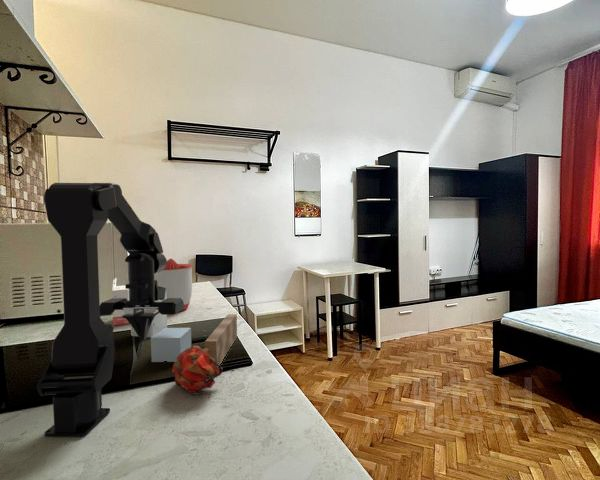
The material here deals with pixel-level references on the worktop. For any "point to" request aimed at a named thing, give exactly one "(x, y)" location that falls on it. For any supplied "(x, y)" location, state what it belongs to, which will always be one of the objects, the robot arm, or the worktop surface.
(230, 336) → the walnut board
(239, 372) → the worktop surface
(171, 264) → the citrus juicer
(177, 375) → the dragon fruit
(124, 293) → the ink cartridge box
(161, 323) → the supplement box
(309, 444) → the worktop surface
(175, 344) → the slate block
